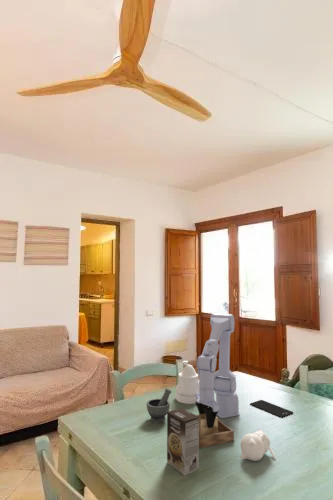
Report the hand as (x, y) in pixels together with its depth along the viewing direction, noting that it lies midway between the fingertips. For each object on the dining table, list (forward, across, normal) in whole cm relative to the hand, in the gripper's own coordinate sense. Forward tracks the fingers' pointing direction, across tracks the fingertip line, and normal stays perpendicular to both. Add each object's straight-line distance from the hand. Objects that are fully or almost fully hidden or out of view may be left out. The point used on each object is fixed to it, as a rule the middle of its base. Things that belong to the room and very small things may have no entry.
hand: (206, 424), depth 124 cm
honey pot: (+4, -37, +10) cm, 39 cm away
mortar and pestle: (+4, -20, -12) cm, 24 cm away
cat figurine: (+4, +20, +9) cm, 22 cm away
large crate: (+4, 0, 0) cm, 4 cm away
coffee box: (+4, +15, -17) cm, 23 cm away
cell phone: (+5, -12, +40) cm, 42 cm away
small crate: (+3, 0, 0) cm, 3 cm away
